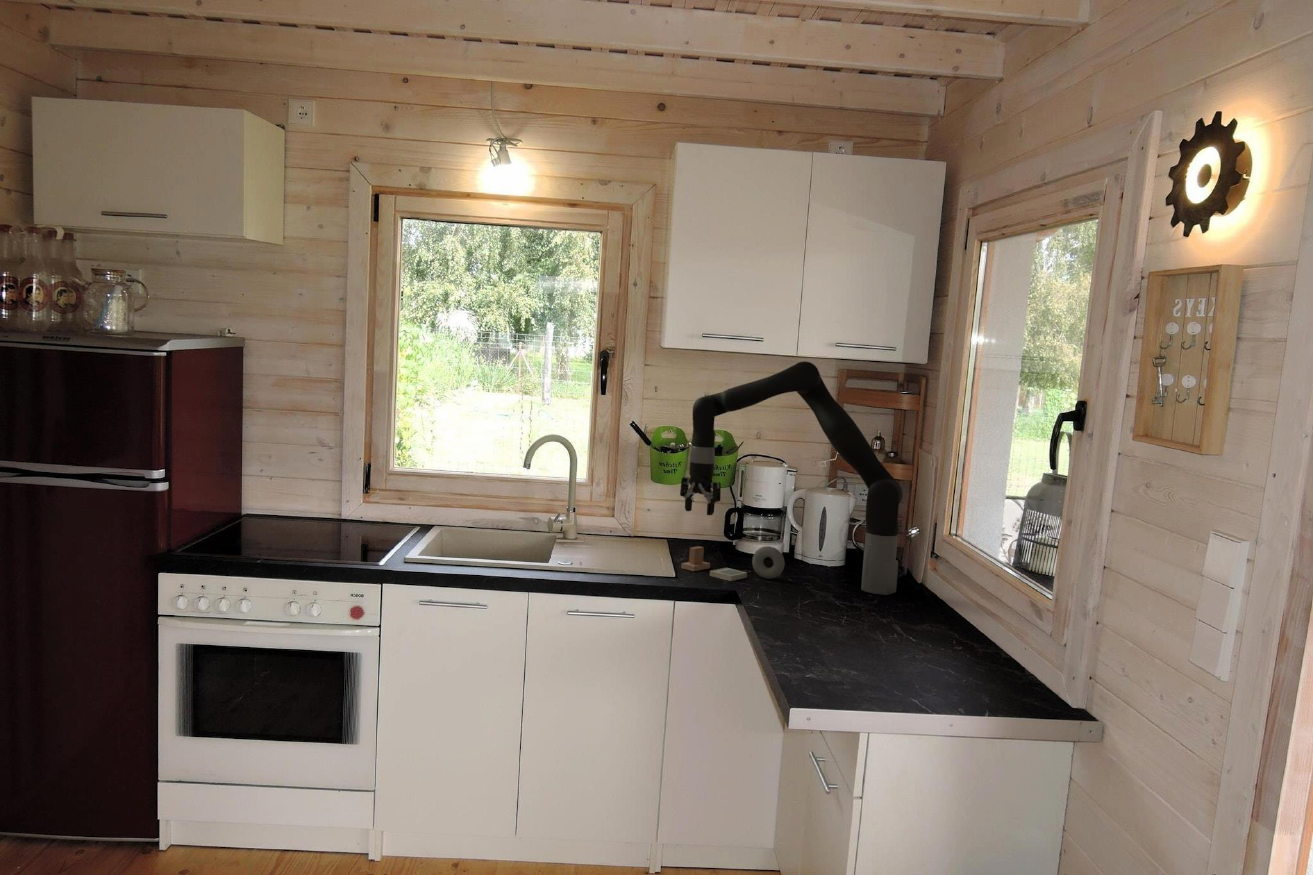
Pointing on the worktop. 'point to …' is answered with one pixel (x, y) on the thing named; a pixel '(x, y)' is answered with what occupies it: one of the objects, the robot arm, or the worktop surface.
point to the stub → (695, 560)
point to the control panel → (728, 574)
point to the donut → (761, 568)
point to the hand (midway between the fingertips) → (698, 513)
